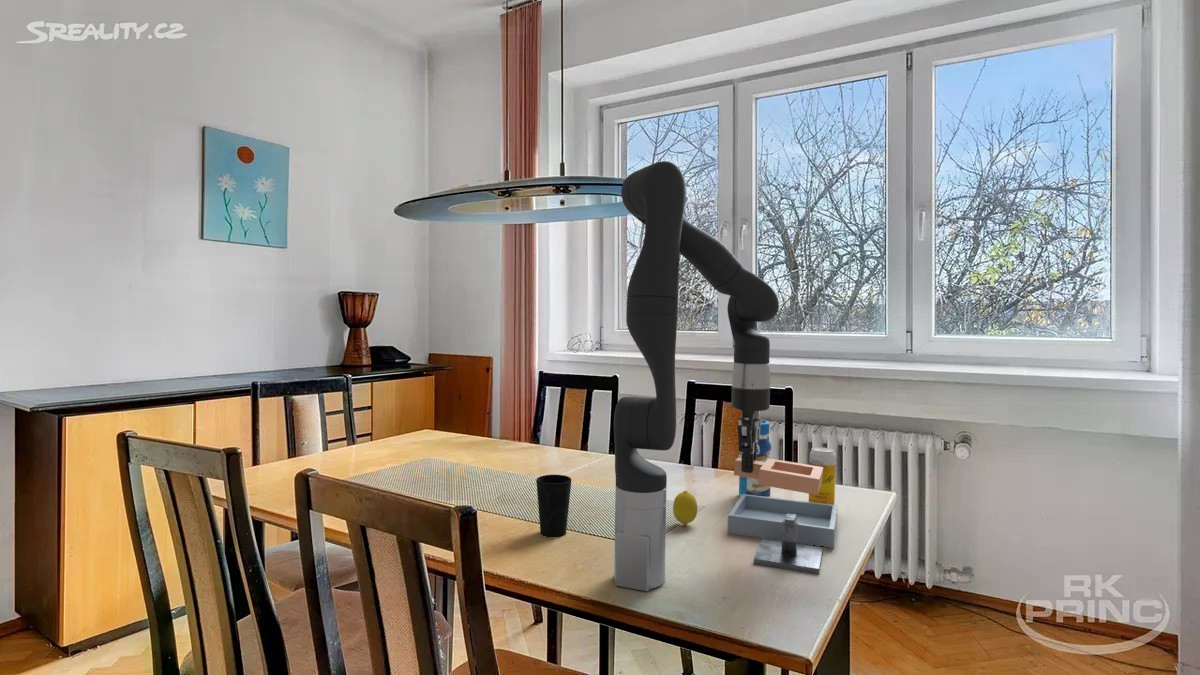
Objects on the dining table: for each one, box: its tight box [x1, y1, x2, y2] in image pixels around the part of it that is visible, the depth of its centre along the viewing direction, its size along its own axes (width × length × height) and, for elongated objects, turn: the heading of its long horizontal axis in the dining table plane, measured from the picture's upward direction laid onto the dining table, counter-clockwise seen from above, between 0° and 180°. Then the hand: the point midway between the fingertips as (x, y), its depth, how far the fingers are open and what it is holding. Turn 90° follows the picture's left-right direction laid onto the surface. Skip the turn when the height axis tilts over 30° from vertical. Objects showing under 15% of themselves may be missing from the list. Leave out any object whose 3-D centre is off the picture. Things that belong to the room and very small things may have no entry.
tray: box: [727, 494, 838, 549], centre depth 145 cm, size 18×22×4 cm
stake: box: [753, 514, 824, 575], centre depth 127 cm, size 12×12×8 cm
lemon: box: [672, 490, 698, 526], centre depth 146 cm, size 6×6×8 cm
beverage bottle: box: [738, 419, 773, 497], centre depth 169 cm, size 8×8×20 cm
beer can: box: [808, 446, 837, 505], centre depth 159 cm, size 6×6×15 cm
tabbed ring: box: [733, 457, 823, 495], centre depth 127 cm, size 11×16×3 cm, turn 67°
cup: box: [535, 474, 572, 538], centre depth 139 cm, size 8×8×12 cm
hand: (748, 469), depth 130 cm, fingers closed on tabbed ring, 3 cm apart
